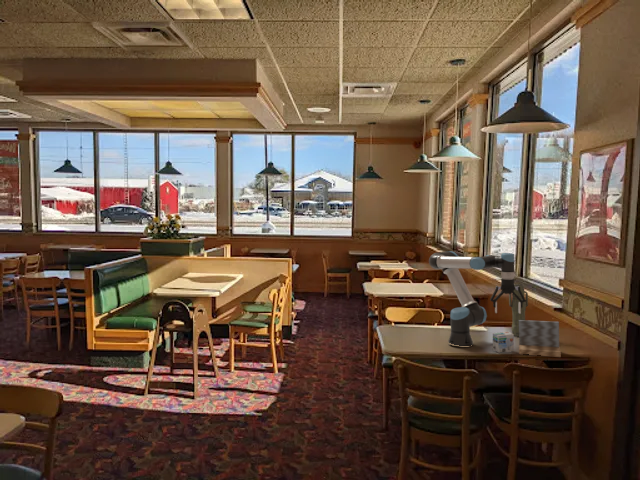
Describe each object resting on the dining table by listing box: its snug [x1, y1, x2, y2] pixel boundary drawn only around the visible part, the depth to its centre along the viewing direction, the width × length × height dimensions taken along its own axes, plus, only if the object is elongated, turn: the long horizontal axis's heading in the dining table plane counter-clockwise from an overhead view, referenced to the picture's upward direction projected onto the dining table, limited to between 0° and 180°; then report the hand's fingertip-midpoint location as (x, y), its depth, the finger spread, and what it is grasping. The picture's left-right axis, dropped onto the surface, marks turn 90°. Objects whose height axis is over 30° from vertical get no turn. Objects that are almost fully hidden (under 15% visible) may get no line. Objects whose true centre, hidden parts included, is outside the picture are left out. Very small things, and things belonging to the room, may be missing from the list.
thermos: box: [508, 283, 529, 338], centre depth 324 cm, size 9×12×35 cm
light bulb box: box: [492, 331, 515, 354], centre depth 292 cm, size 11×7×11 cm, turn 101°
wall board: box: [518, 319, 562, 358], centre depth 285 cm, size 22×12×18 cm, turn 68°
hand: (507, 312), depth 293 cm, fingers open, 13 cm apart
